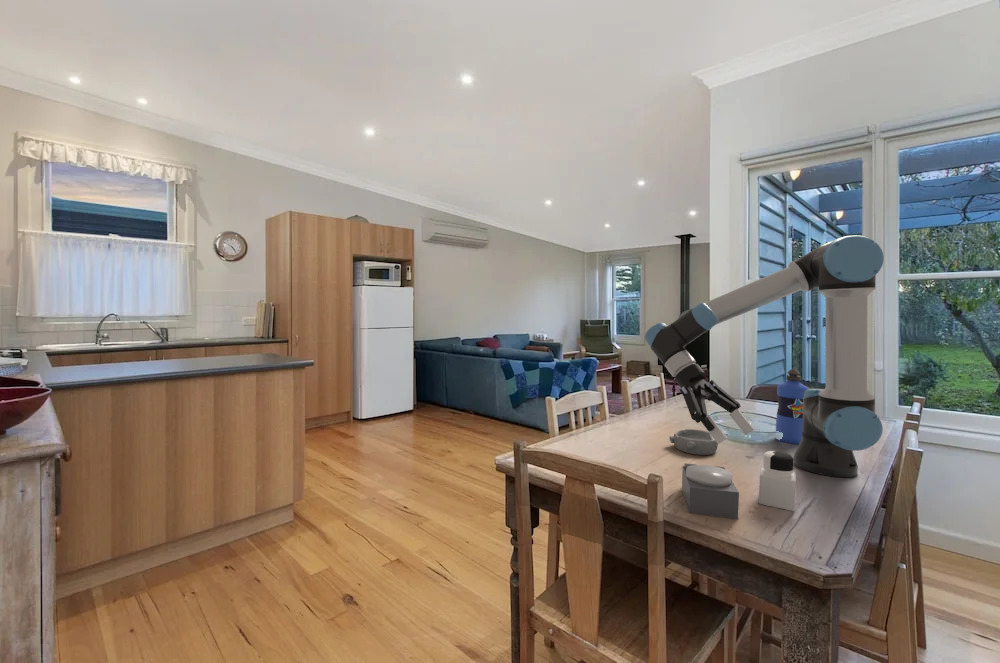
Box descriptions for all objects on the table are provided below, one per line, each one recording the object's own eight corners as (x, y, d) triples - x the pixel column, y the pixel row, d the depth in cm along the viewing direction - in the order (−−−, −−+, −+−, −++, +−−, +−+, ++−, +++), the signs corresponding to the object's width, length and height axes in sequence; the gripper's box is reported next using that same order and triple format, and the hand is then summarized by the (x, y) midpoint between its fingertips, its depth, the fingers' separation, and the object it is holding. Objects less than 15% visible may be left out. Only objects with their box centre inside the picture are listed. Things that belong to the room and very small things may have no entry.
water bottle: (812, 444, 154) (816, 371, 152) (785, 444, 154) (788, 371, 153) (795, 436, 163) (798, 367, 162) (769, 436, 163) (772, 367, 162)
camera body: (724, 493, 113) (725, 464, 113) (737, 519, 100) (739, 485, 99) (681, 489, 116) (682, 460, 116) (689, 513, 102) (690, 480, 102)
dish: (701, 442, 157) (702, 427, 156) (728, 455, 143) (729, 439, 143) (663, 444, 154) (663, 429, 154) (686, 457, 140) (687, 441, 140)
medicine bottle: (794, 500, 110) (796, 452, 109) (794, 511, 104) (796, 460, 103) (760, 493, 113) (762, 446, 113) (758, 504, 107) (760, 454, 107)
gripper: (700, 375, 136) (750, 436, 125) (649, 382, 122) (699, 452, 111) (718, 359, 132) (771, 421, 120) (667, 365, 117) (721, 436, 106)
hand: (737, 436), depth 115 cm, fingers open, 13 cm apart
